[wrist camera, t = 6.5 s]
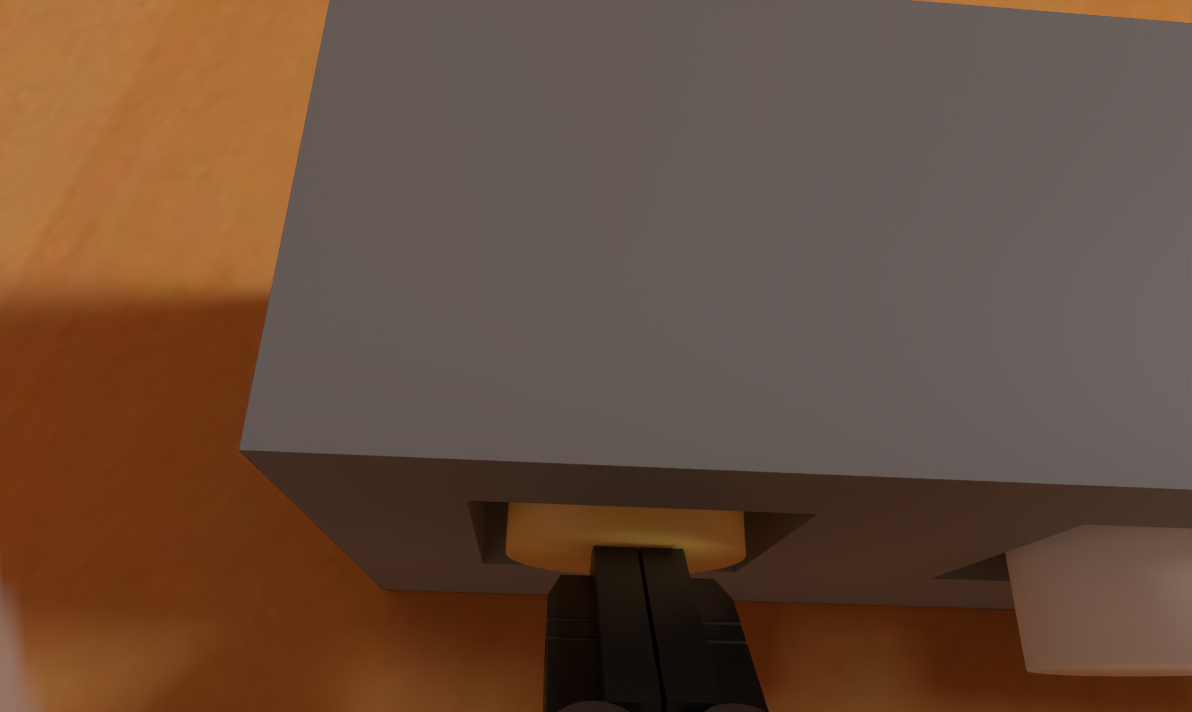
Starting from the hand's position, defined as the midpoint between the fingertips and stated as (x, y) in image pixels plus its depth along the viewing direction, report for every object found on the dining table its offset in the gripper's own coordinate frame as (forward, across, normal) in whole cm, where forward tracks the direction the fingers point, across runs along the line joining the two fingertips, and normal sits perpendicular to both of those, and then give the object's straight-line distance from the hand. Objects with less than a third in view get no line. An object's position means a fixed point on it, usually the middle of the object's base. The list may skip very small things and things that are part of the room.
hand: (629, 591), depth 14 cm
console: (+7, -9, +2) cm, 12 cm away
